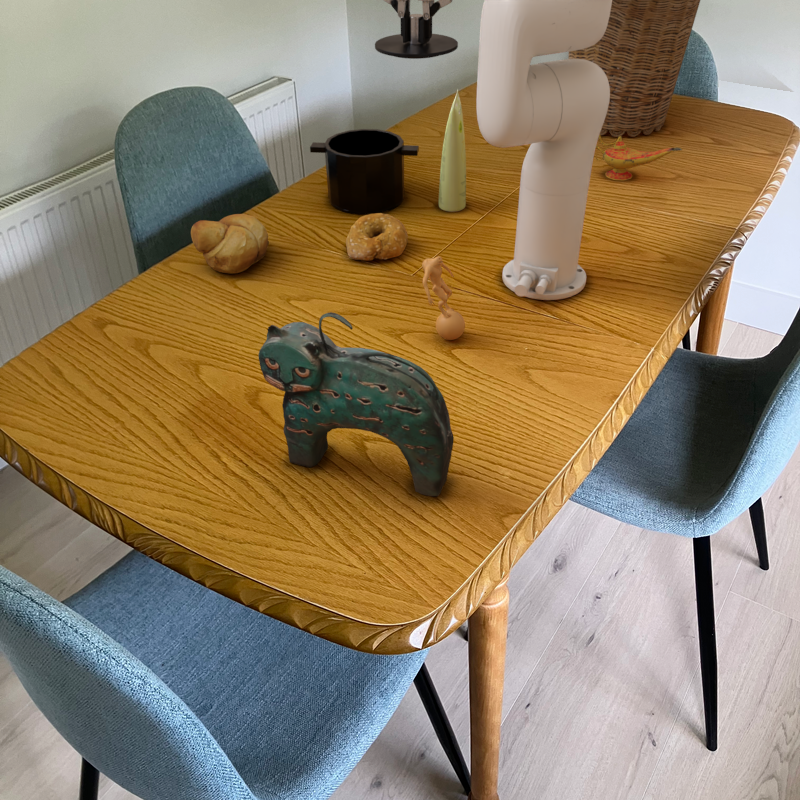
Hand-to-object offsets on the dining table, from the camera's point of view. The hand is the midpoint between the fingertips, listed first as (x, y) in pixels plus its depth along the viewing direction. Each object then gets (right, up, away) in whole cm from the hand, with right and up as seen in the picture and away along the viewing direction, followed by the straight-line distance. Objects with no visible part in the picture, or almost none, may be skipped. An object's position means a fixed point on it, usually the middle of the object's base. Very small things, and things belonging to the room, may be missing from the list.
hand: (416, 40), depth 137 cm
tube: (+6, -29, +2) cm, 30 cm away
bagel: (-7, -39, -10) cm, 41 cm away
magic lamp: (+41, -21, +12) cm, 47 cm away
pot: (-9, -27, +6) cm, 29 cm away
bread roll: (-29, -41, -12) cm, 52 cm away
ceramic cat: (-7, -72, -51) cm, 88 cm away
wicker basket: (+46, -1, +37) cm, 58 cm away
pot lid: (0, -1, +1) cm, 1 cm away
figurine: (+3, -55, -31) cm, 63 cm away
